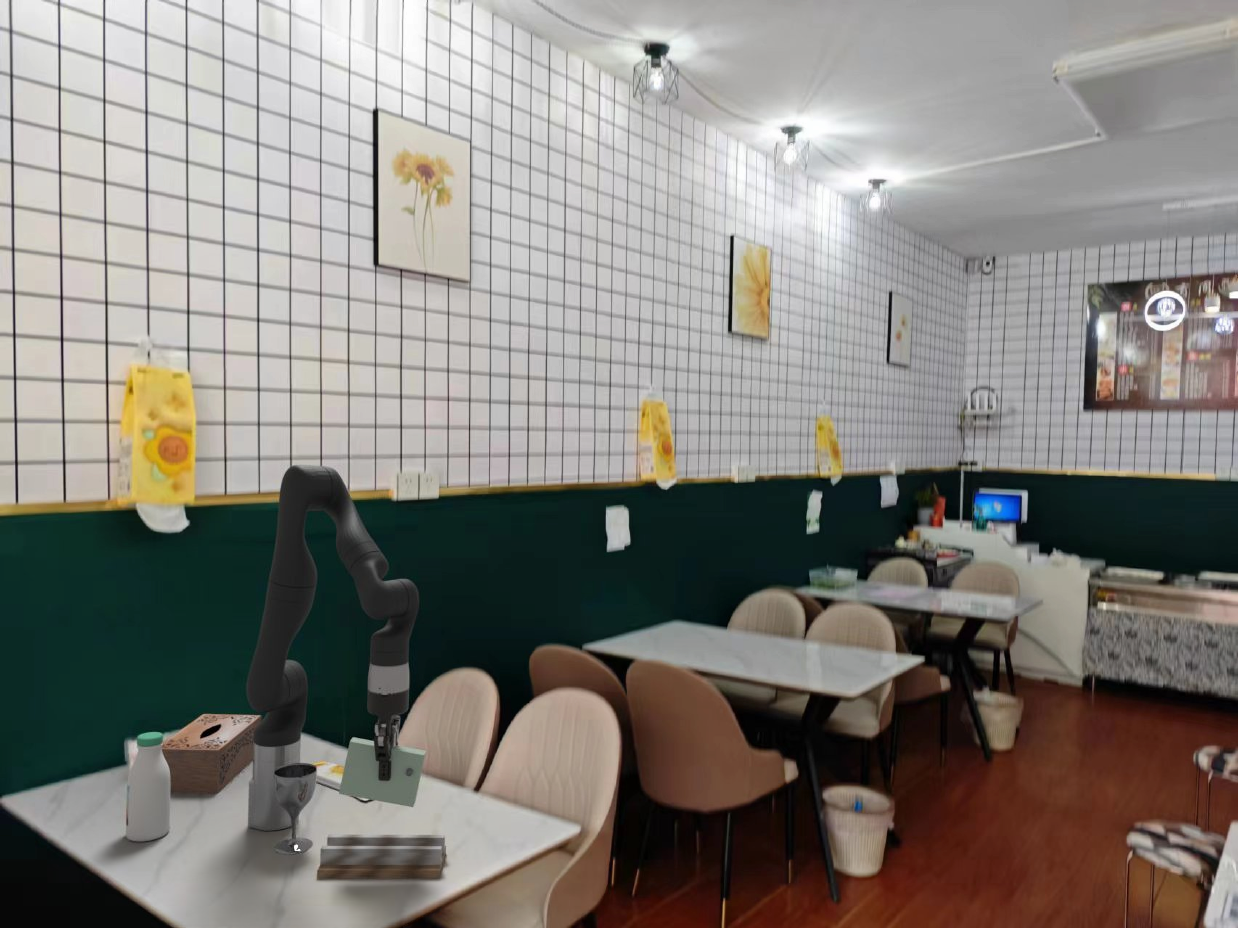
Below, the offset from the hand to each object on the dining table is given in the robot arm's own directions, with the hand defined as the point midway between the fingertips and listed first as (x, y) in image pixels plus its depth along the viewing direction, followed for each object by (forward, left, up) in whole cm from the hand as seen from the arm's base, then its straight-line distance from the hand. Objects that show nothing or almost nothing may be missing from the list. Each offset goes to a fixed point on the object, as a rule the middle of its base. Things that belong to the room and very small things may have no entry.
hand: (386, 776), depth 167 cm
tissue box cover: (-50, +47, -17) cm, 71 cm away
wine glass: (-19, +8, -17) cm, 27 cm away
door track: (0, 0, -17) cm, 17 cm away
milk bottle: (-49, +13, -17) cm, 53 cm away
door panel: (-2, 0, -4) cm, 4 cm away
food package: (-17, +41, -18) cm, 48 cm away
